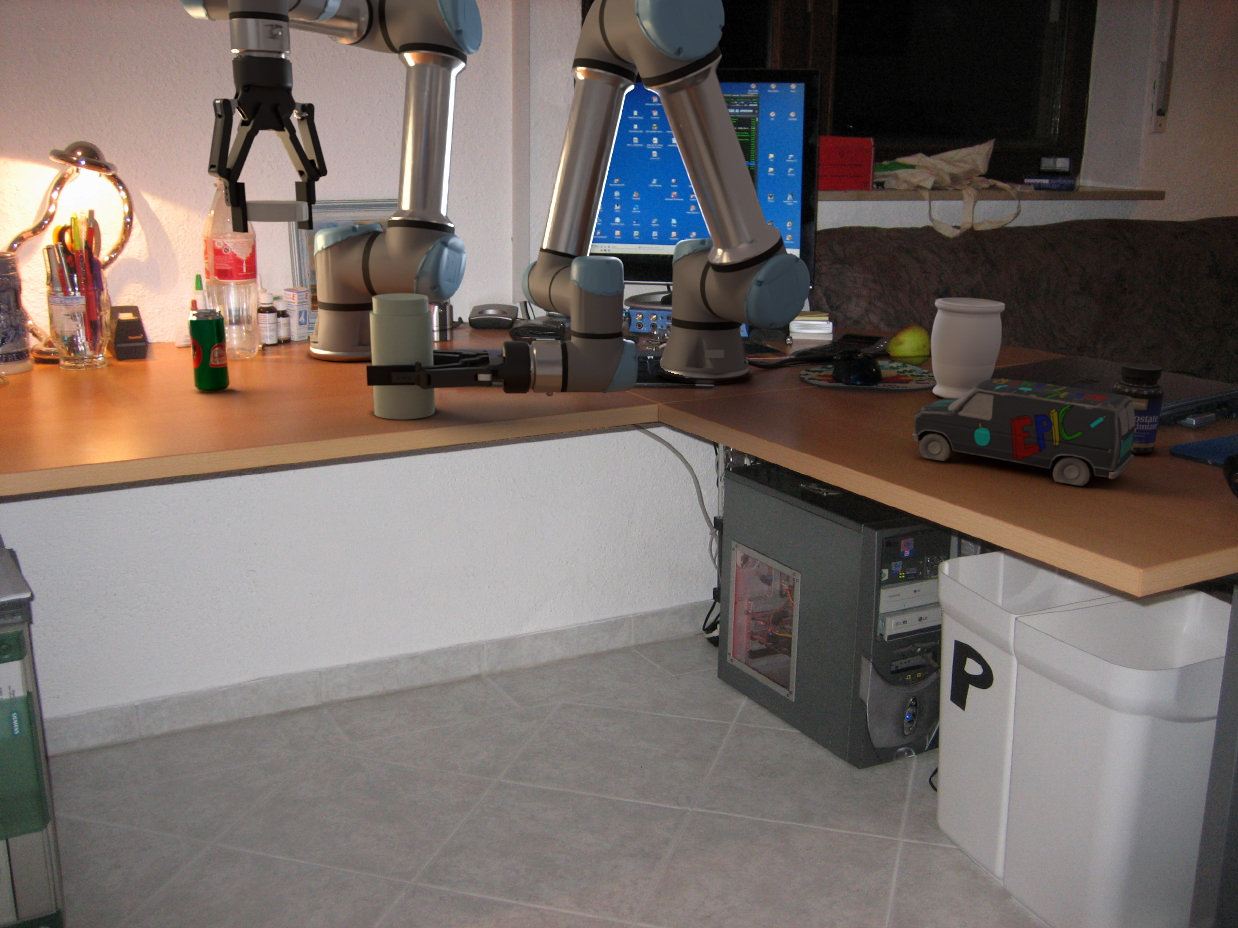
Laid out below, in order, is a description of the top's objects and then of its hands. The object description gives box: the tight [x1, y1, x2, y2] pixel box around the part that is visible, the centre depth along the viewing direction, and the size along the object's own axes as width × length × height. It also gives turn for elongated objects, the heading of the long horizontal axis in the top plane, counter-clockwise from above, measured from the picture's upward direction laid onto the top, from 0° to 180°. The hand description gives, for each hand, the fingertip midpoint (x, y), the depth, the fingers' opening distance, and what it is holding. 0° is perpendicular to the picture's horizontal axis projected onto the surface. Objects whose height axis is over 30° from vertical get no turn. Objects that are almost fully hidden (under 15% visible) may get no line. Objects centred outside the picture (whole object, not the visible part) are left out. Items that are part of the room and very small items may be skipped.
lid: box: [246, 199, 309, 223], centre depth 146 cm, size 9×9×2 cm
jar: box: [930, 297, 1006, 399], centre depth 168 cm, size 11×10×15 cm
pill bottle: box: [1111, 362, 1165, 455], centre depth 139 cm, size 6×6×11 cm
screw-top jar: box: [370, 293, 436, 421], centre depth 151 cm, size 8×8×16 cm
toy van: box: [911, 377, 1136, 487], centre depth 131 cm, size 11×25×10 cm, turn 54°
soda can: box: [187, 308, 231, 393], centre depth 163 cm, size 5×5×12 cm
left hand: (273, 230), depth 147 cm, fingers closed on lid, 9 cm apart
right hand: (369, 369), depth 151 cm, fingers closed on screw-top jar, 8 cm apart
